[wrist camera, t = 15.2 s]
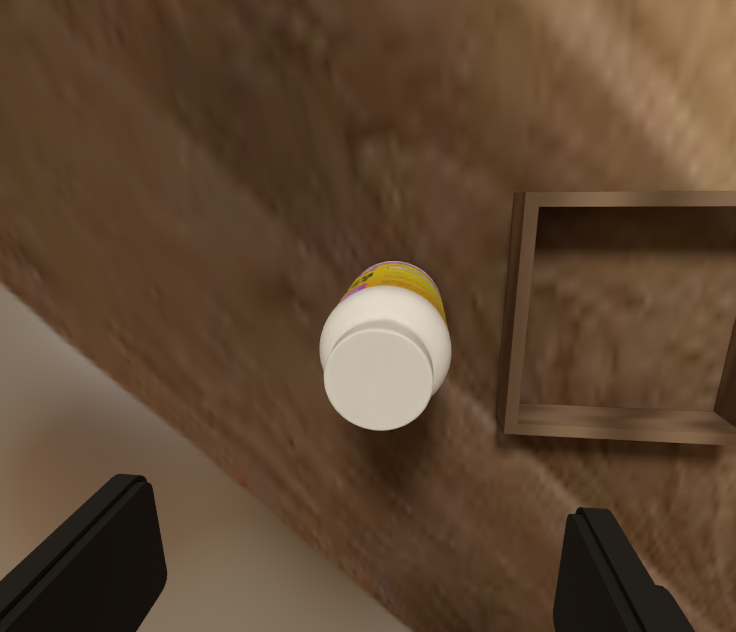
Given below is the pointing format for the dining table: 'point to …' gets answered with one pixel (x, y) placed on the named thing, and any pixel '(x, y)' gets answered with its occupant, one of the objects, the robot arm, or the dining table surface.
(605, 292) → the dining table surface
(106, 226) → the dining table surface
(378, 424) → the supplement bottle
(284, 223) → the dining table surface
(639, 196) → the crate
